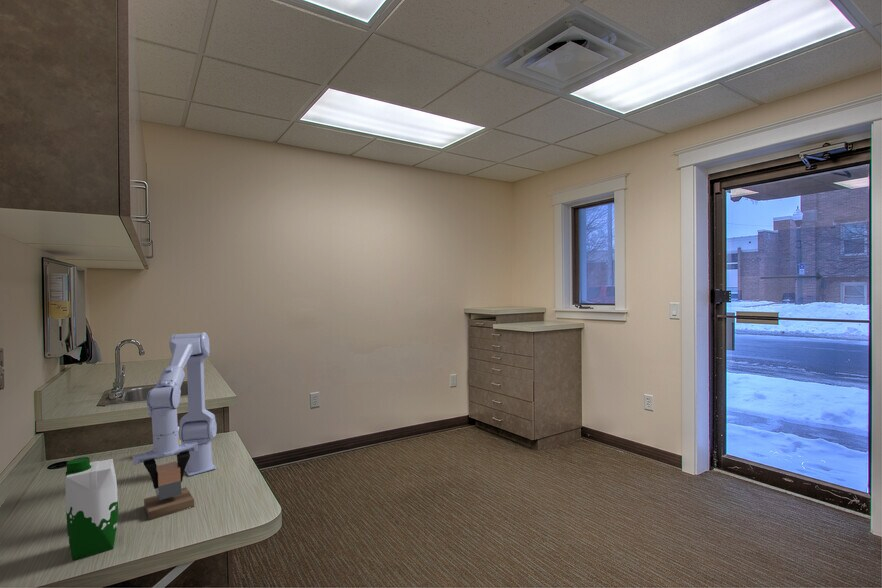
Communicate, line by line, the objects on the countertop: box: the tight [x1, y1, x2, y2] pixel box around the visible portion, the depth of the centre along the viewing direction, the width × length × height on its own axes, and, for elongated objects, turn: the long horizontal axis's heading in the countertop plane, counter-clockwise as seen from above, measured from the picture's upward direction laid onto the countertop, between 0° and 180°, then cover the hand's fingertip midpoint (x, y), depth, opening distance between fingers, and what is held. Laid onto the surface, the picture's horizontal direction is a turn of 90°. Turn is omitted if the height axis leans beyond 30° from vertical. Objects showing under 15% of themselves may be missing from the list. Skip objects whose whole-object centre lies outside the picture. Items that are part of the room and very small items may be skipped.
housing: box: [155, 460, 182, 500], centre depth 120 cm, size 5×6×7 cm
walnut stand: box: [143, 487, 195, 521], centre depth 120 cm, size 10×10×2 cm
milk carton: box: [65, 456, 119, 561], centre depth 102 cm, size 9×9×20 cm
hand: (168, 484), depth 120 cm, fingers closed on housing, 5 cm apart
